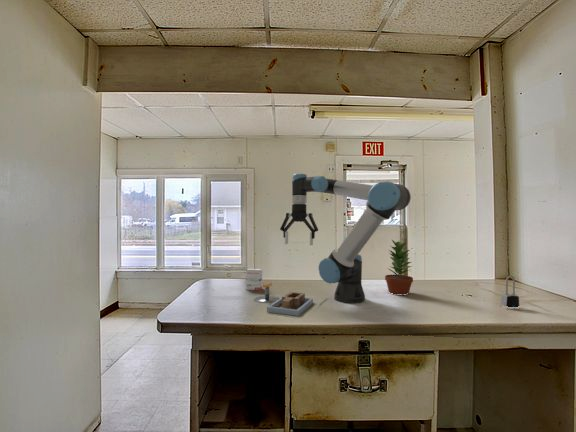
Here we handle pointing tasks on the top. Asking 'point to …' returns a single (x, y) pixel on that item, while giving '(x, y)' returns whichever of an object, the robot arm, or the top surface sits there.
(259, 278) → the ink box
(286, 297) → the brown wooden forked piece
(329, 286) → the top surface
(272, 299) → the lid
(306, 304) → the tray
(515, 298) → the padlock
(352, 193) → the robot arm
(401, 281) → the potted plant
